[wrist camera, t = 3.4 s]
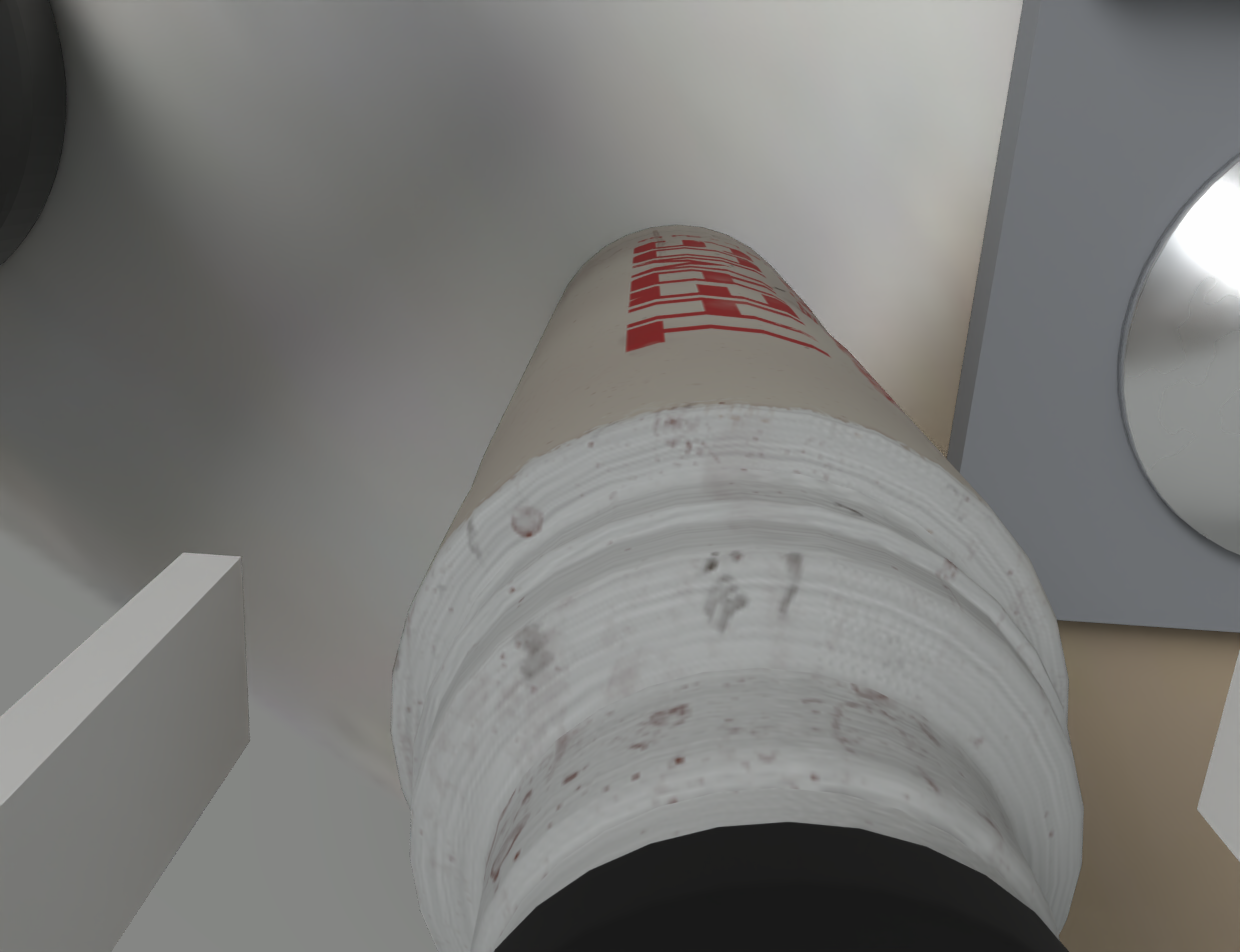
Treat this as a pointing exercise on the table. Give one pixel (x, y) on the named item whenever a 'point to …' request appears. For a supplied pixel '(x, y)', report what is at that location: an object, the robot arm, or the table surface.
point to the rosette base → (1114, 313)
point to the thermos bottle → (728, 651)
